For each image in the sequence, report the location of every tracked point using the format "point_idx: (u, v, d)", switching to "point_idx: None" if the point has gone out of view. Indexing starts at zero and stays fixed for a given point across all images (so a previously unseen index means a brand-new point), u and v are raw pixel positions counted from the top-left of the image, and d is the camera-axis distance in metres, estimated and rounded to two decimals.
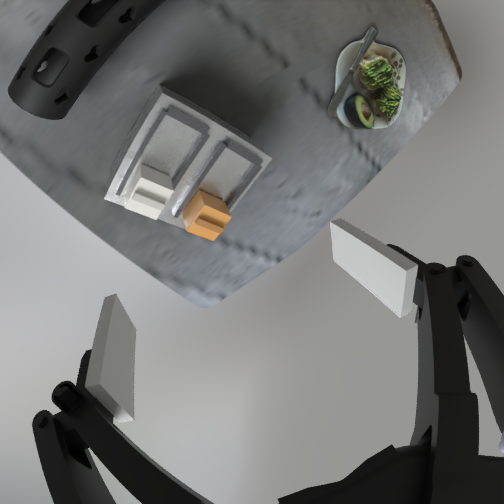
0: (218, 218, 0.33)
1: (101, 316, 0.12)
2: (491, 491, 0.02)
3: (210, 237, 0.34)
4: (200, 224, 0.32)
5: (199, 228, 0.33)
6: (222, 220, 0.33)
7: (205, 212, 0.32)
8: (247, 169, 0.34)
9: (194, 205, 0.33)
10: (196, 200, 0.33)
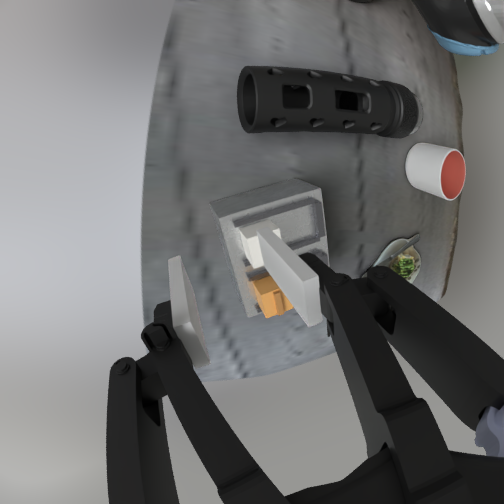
0: (286, 302, 0.37)
1: (171, 273, 0.15)
2: (491, 491, 0.02)
3: (267, 313, 0.37)
4: (276, 297, 0.35)
5: (269, 300, 0.36)
6: (286, 306, 0.37)
7: None
8: None
9: (273, 281, 0.37)
10: None
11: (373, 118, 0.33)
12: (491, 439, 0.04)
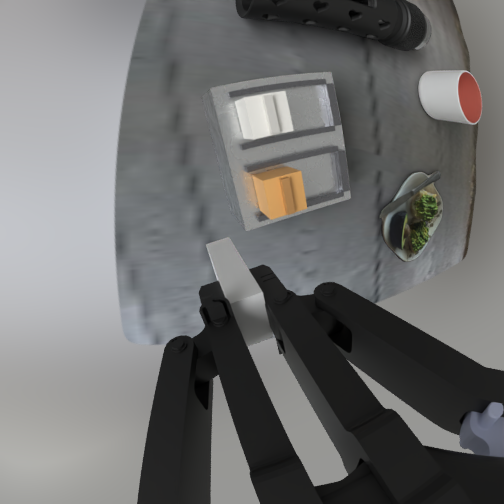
0: (297, 198, 0.27)
1: (212, 256, 0.15)
2: (490, 492, 0.02)
3: (272, 212, 0.27)
4: (284, 184, 0.26)
5: (274, 191, 0.26)
6: (297, 204, 0.28)
7: (294, 179, 0.26)
8: (329, 189, 0.32)
9: (279, 171, 0.28)
10: (282, 169, 0.28)
11: (380, 14, 0.23)
12: (478, 442, 0.04)
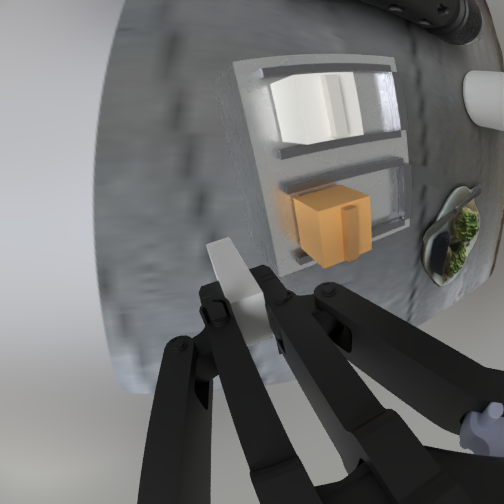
0: (361, 235, 0.18)
1: (212, 256, 0.15)
2: (491, 491, 0.02)
3: (327, 258, 0.18)
4: (348, 217, 0.16)
5: (332, 226, 0.17)
6: (361, 244, 0.18)
7: (360, 208, 0.17)
8: (388, 216, 0.23)
9: (335, 193, 0.18)
10: (338, 190, 0.19)
11: None
12: (478, 442, 0.04)
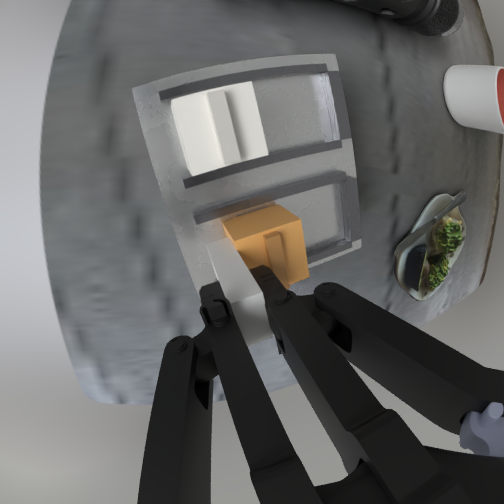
0: (293, 263, 0.17)
1: (212, 256, 0.15)
2: (490, 492, 0.02)
3: None
4: (271, 246, 0.15)
5: (255, 256, 0.16)
6: (294, 272, 0.17)
7: (289, 234, 0.16)
8: (331, 238, 0.22)
9: (265, 216, 0.17)
10: (270, 212, 0.18)
11: None
12: (478, 442, 0.04)
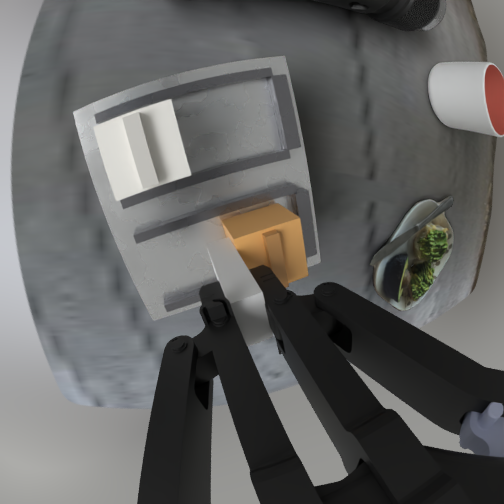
0: (292, 261, 0.17)
1: (212, 256, 0.15)
2: (491, 491, 0.02)
3: None
4: (270, 244, 0.15)
5: (254, 254, 0.16)
6: (293, 271, 0.17)
7: (288, 233, 0.16)
8: None
9: (265, 215, 0.17)
10: (270, 211, 0.18)
11: None
12: (478, 442, 0.04)
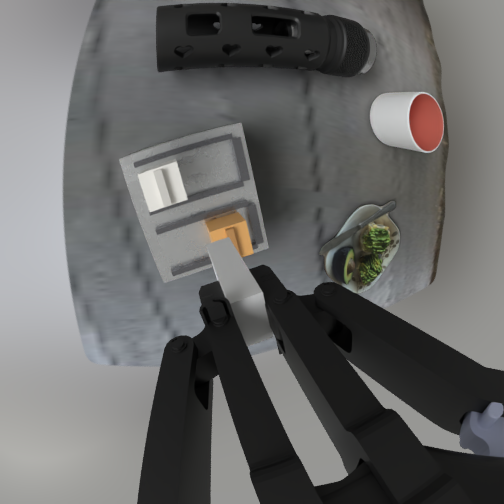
0: (243, 244, 0.31)
1: (212, 256, 0.15)
2: (490, 492, 0.02)
3: None
4: (228, 235, 0.29)
5: None
6: (244, 250, 0.31)
7: (239, 228, 0.30)
8: None
9: (228, 219, 0.31)
10: (232, 217, 0.32)
11: (306, 44, 0.25)
12: (478, 442, 0.04)
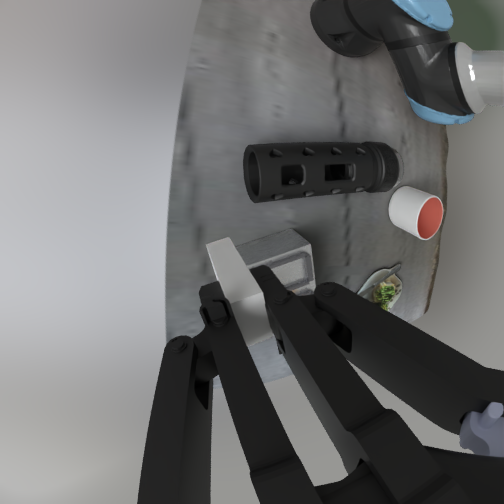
0: None
1: (212, 256, 0.15)
2: (491, 491, 0.02)
3: None
4: None
5: None
6: None
7: None
8: None
9: None
10: None
11: (357, 184, 0.43)
12: (478, 442, 0.04)
